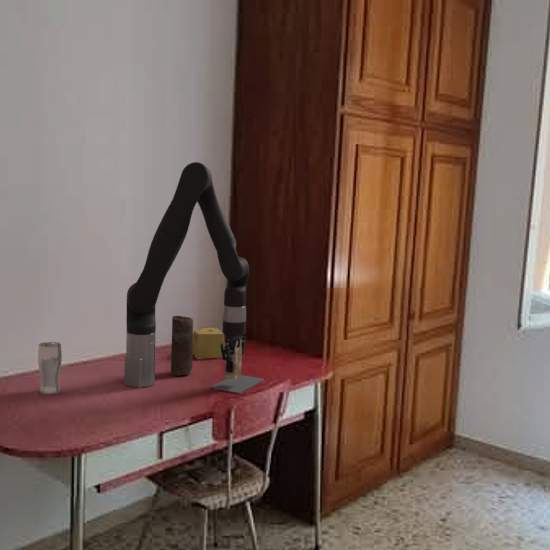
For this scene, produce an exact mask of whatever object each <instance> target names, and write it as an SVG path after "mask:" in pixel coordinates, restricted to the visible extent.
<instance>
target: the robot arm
mask: <svg viewBox="0 0 550 550" xmlns="http://www.w3.org/2000/svg"><path fill="white" fill-rule="evenodd" d="M197 204H198V206H199V208H200V211H201V213H202V216H203V219H204V222H205V226H206V228H207V232H208V234H209V237H210V239H211V242H212V245H213V246H214V249H215V250H216V255H217V259H218V263H219V268H220V270H221V273H222V274H223V276H224V277H225V278H226V279H227V286H226V288H225V289H224V295H223V310H222V311H223V312H222V331H221V332H222V333H223V335H225V338H224V344H222V343H221V345H220V346H221V353H222V358H221V359H222V360H223V361H224V362H225V361H226V372H229V373H232V372H233V359H234V354H235V349H237V347H238V346H239V347H242V356H244V354H245V349H246V342H247V337H246V336H243V335H245V334H246V332H247V331H246V328H247V327H246V326H247V305H246V304H247V288H248V282H249V277H250V266H249V263H248V261H247V260H246V258H244V257H242V256H238V252H237V250H236V249H237V240H236V238H235V236H234V234H233V231H232V229H231V226H230V224H229V222H228V220H227V218H226V216H225V214H224V212H223V209H222V208H221V204H220V202H219V199H218V197H217V194H216V190H215V186H214V182H213V176H212V172H211V171H210V169H209V168H208V167H207V166H206V165H204V164H203V163H201V162H199V161H198V162H197V161H195V162H190V163H188V164H186V166H185V167H184V168H183V169H182V171H181V175H180V177H179V179H178V183H177V186H176V189H175V192H174V195H173V197H172V199H171V201H170V204H169V205H168V207H167V209H166V211H165V213H164V214H163V216H162V218H161V221H159V224H158V227H157V229H156V230H155V233H154V235H153V237H152V240H151V242H150V245H149V249H148V253H147V256H146V259H145V263H144V266H143V269H142V272H141V273H140V275H139V277H138V278H137V280H136V282H134V283H133V284H131V285H130V286H129V288H128V289H127V292H126V319H125V320H126V321H125V322H126V339H125V340H126V347H125V350H126V351H125V352H126V353H125V354H126V355H125V356H124V366H123V367H124V371H123V372H124V377H123V378H124V379H123V382H124V383H123V385H124V386H129V387H132V388H138V389H141V388H147V387H151V386H153V385H155V380H156V379H155V375H156V373H155V372H156V367H155V366H156V327H157V326H156V325H157V323H156V304H157V302H158V299H159V295H160V292H161V290H162V286H163V284H164V281H165V278H166V276H167V274H168V272H169V271H170V270H171V267H172V265H173V263H174V262H175V261H176V258H177V256H178V255H179V252H180V250H181V248H182V247H183V243H184V242H185V240H186V236H187V233H188V231H189V228H190V224H191V221H192V220H191V219H192V216H193V212H194V209H195V207H196V205H197ZM230 350H233V352H230ZM230 354H231V356H230ZM225 355H226V356H225Z"/></svg>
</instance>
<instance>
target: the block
mask: <svg viewBox="0 0 550 550" xmlns="http://www.w3.org/2000/svg"><path fill="white" fill-rule="evenodd" d="M230 352H233V350H230ZM225 356H226V355H225ZM230 356H231V354H230ZM242 357H243V355H242V347H239V346H238V347H237V349H235V354H234V359H233V372H232V373H229V372H226V361H225V360H224V373H223V374H224V376H223V377H224V378H225V379H227V378H229V379H237V378H239V377H241V375H242V360H243V359H242Z"/></svg>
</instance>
